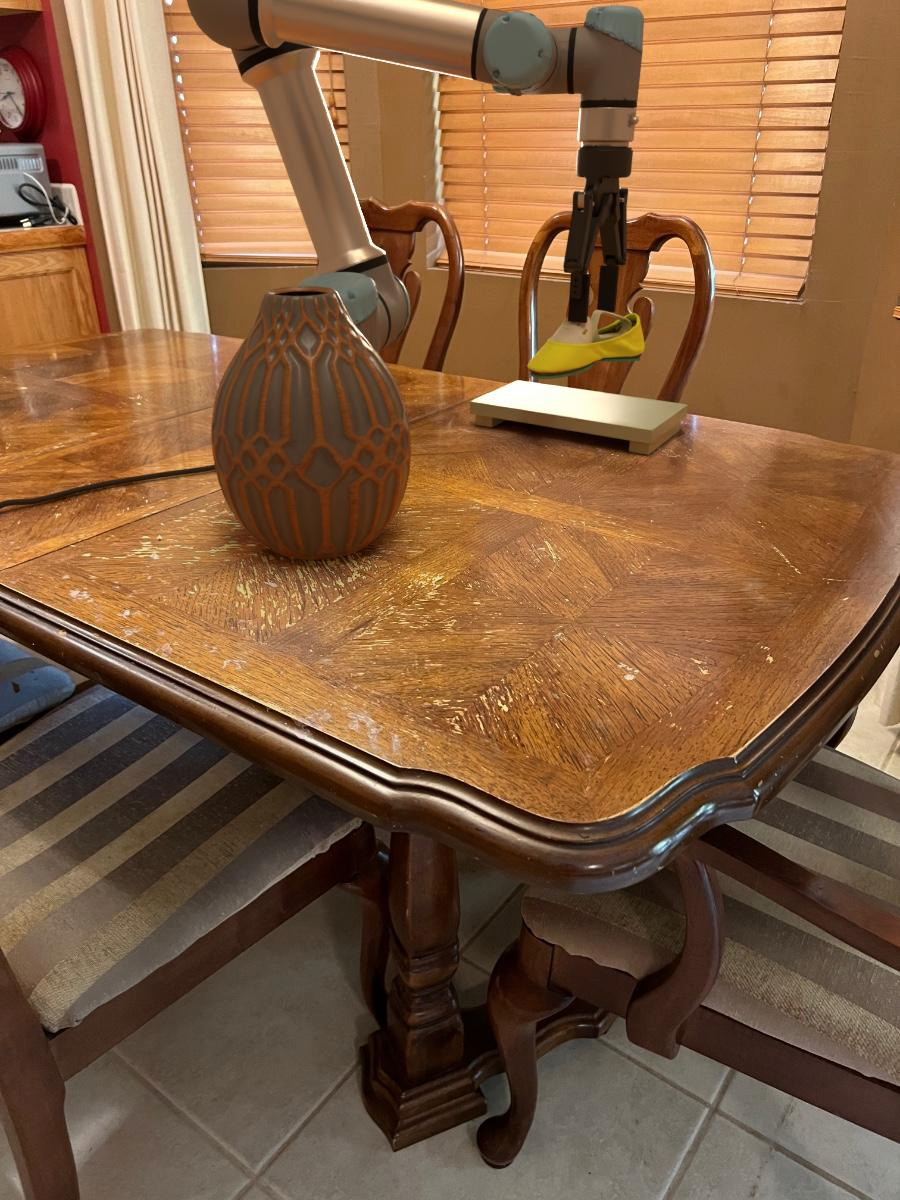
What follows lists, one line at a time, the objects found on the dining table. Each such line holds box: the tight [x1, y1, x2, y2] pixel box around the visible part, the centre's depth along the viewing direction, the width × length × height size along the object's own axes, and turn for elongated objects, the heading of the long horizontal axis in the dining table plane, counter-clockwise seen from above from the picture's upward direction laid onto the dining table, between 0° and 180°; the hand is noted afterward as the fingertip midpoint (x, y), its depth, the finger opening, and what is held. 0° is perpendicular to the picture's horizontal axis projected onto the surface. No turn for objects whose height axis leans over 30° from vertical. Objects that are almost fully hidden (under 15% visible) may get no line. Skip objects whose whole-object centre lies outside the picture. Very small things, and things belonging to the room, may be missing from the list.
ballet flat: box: [526, 309, 646, 380], centre depth 128 cm, size 8×24×8 cm, turn 132°
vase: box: [210, 285, 412, 561], centre depth 92 cm, size 21×21×27 cm
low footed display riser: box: [469, 379, 689, 456], centre depth 135 cm, size 16×30×4 cm, turn 58°
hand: (592, 316), depth 127 cm, fingers closed on ballet flat, 10 cm apart
